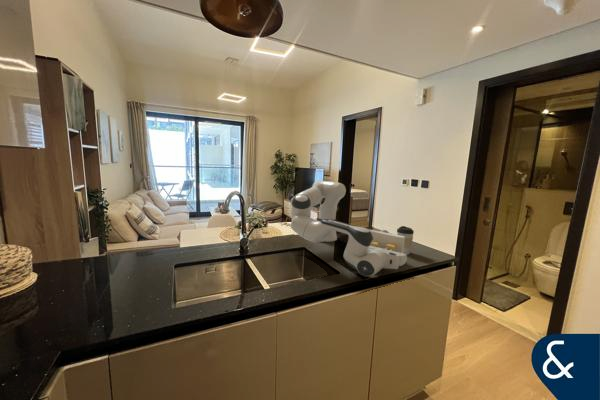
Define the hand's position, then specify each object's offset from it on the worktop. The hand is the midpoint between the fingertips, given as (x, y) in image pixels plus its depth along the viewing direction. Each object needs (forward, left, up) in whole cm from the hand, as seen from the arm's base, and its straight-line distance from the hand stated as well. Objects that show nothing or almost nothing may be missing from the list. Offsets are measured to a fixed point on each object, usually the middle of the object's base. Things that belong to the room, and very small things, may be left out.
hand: (389, 250), depth 126 cm
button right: (0, +4, -2) cm, 4 cm away
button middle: (-8, +2, -2) cm, 8 cm away
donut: (-13, +27, -8) cm, 31 cm away
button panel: (-8, +6, -7) cm, 12 cm away
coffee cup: (+1, +22, -8) cm, 24 cm away
